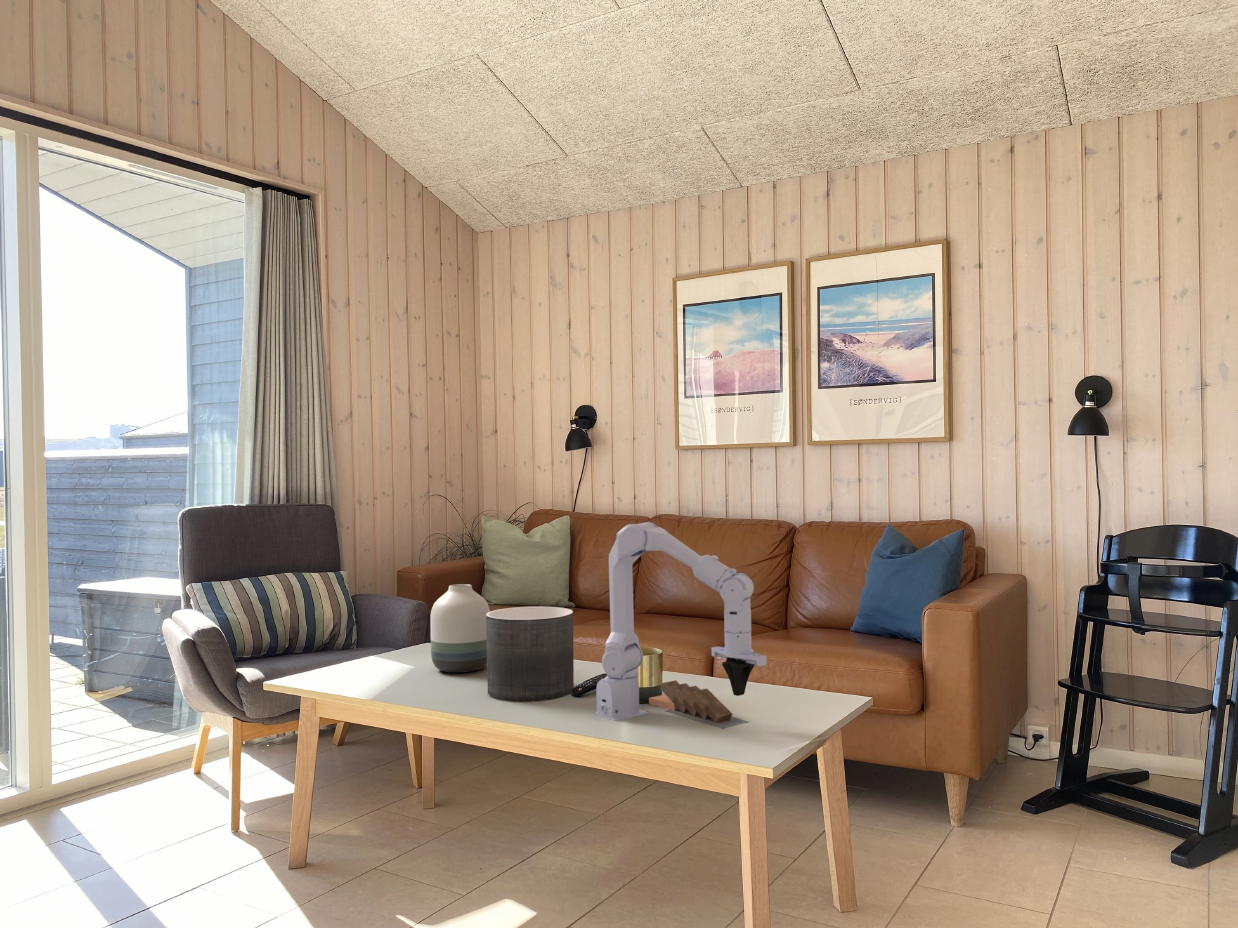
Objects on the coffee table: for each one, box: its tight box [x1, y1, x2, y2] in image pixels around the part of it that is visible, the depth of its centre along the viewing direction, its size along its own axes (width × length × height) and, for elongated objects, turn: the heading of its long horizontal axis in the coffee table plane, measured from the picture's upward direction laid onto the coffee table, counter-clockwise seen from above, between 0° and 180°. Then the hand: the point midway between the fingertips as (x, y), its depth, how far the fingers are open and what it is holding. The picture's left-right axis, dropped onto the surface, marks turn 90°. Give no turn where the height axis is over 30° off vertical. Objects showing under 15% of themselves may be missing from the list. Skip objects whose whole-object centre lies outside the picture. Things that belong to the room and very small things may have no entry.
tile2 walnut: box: [680, 685, 710, 720], centre depth 199 cm, size 4×2×9 cm
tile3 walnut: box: [670, 682, 700, 717], centre depth 202 cm, size 4×2×9 cm
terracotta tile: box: [648, 694, 679, 711], centre depth 208 cm, size 4×2×9 cm
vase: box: [430, 583, 491, 673], centre depth 253 cm, size 17×17×24 cm
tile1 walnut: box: [691, 688, 733, 723], centre depth 196 cm, size 4×2×9 cm
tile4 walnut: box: [659, 680, 689, 713], centre depth 205 cm, size 4×2×9 cm
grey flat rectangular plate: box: [664, 709, 750, 730], centre depth 198 cm, size 8×19×1 cm, turn 38°
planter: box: [486, 606, 575, 703], centre depth 226 cm, size 22×22×20 cm
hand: (738, 694), depth 190 cm, fingers closed
